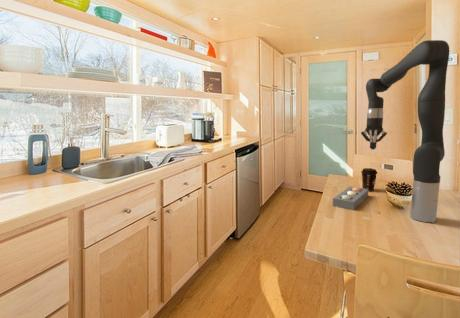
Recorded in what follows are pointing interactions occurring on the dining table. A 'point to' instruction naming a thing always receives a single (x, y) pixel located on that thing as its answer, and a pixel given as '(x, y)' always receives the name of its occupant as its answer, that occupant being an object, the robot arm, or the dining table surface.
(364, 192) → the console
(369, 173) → the coffee cup
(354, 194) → the offwhite button
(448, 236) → the dining table surface
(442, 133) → the robot arm
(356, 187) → the terracotta button
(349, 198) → the sage button
